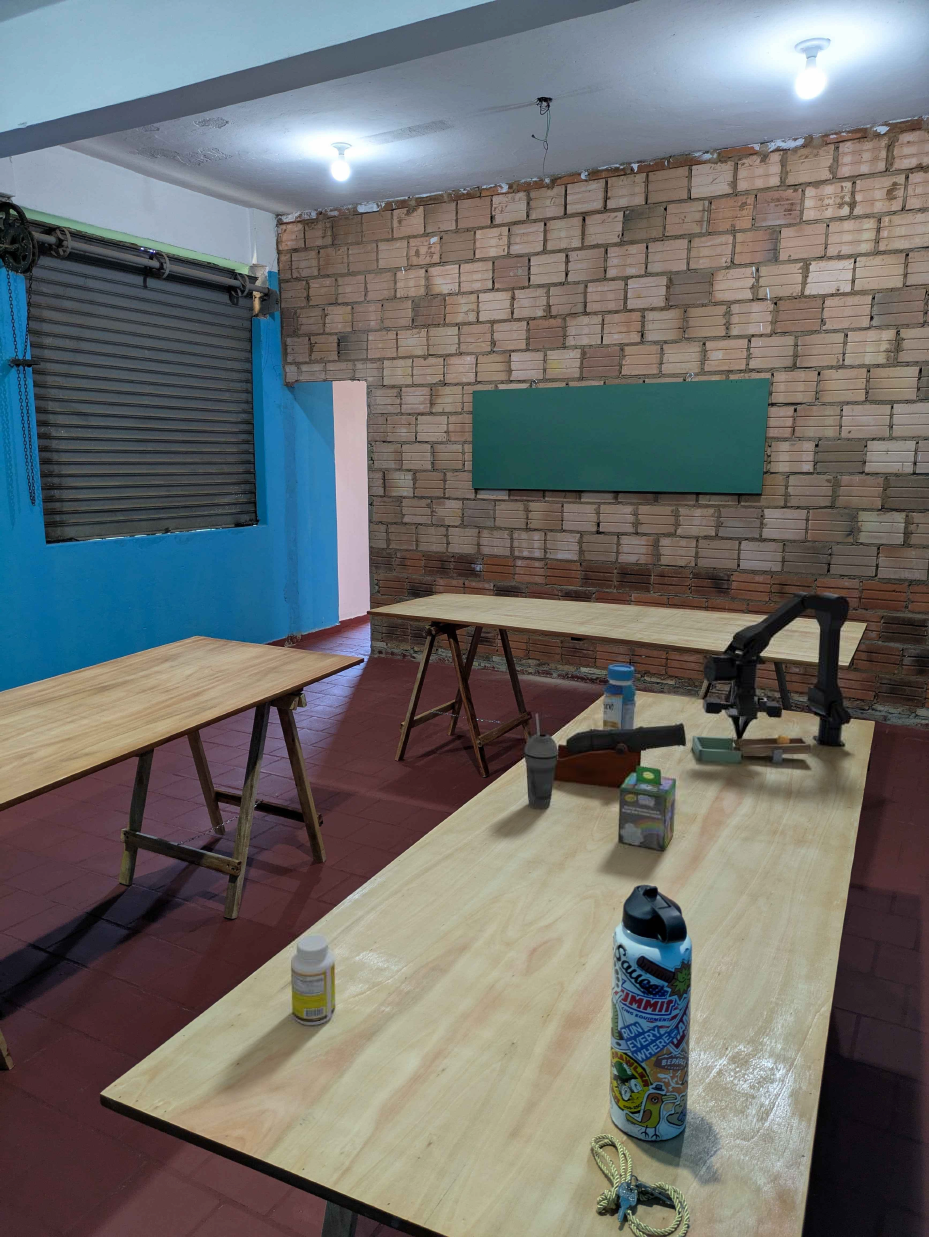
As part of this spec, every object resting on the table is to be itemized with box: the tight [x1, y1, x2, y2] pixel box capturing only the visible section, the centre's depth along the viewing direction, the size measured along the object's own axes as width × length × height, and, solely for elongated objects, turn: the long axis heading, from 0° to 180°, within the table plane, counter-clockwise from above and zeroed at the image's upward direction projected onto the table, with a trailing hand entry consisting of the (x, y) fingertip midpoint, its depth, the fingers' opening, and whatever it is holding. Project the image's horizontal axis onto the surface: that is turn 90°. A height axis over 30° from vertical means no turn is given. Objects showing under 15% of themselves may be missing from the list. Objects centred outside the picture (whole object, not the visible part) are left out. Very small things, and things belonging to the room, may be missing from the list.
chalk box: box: [617, 765, 677, 852], centre depth 163 cm, size 9×9×15 cm
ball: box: [776, 734, 790, 745], centre depth 210 cm, size 3×3×3 cm
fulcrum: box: [767, 749, 783, 765], centre depth 211 cm, size 8×2×4 cm, turn 173°
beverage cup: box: [523, 713, 558, 810], centre depth 178 cm, size 7×7×20 cm
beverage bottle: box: [602, 663, 637, 730], centre depth 221 cm, size 8×8×20 cm
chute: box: [731, 735, 812, 757], centre depth 214 cm, size 12×16×2 cm
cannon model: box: [553, 722, 687, 790], centre depth 194 cm, size 13×30×15 cm, turn 74°
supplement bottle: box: [290, 933, 336, 1026], centre depth 110 cm, size 6×6×10 cm
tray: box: [691, 735, 742, 765], centre depth 213 cm, size 11×10×3 cm
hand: (738, 739), depth 218 cm, fingers closed, pressing on chute
